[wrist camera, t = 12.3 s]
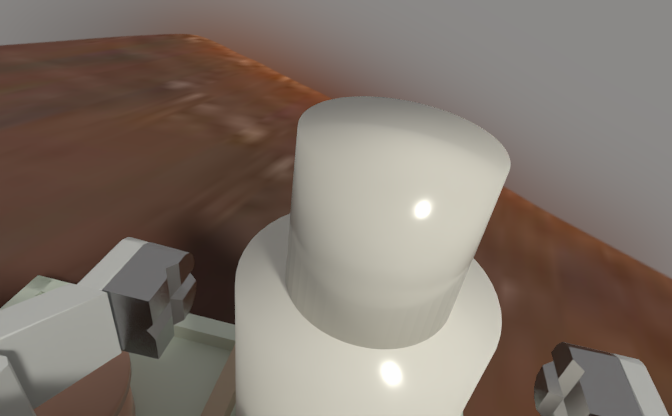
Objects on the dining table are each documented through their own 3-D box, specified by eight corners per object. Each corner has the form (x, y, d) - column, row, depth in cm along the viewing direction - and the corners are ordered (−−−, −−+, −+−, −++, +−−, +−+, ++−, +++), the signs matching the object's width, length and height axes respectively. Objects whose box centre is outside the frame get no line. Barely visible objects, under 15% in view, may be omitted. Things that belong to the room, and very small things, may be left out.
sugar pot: (-114, 527, 14) (-219, 440, 11) (39, 359, 19) (-1, 268, 16) (70, 585, 13) (18, 513, 10) (175, 396, 18) (162, 310, 15)
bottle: (209, 587, 13) (161, 181, 5) (265, 425, 17) (290, 63, 9) (377, 639, 12) (636, 286, 4) (392, 459, 16) (537, 110, 8)
